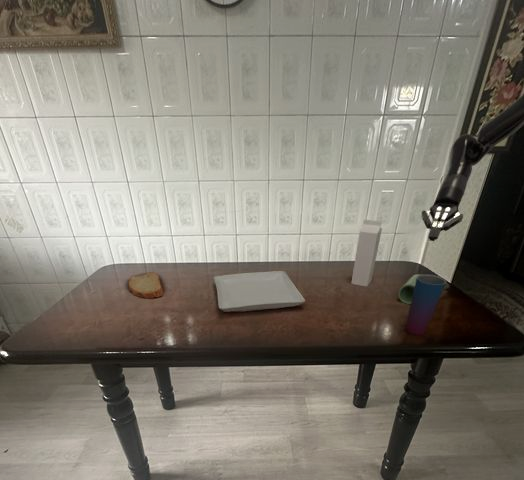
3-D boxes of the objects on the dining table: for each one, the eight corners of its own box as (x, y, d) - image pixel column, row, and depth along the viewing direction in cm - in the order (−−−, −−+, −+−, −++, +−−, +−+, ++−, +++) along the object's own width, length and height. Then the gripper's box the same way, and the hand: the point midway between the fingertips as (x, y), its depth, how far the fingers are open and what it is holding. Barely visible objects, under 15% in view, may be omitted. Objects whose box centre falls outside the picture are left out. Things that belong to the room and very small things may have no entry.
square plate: (220, 319, 91) (219, 307, 89) (214, 284, 113) (213, 274, 111) (305, 310, 95) (306, 299, 93) (283, 278, 117) (284, 269, 115)
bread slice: (157, 300, 103) (155, 289, 100) (112, 294, 107) (109, 285, 104) (182, 280, 117) (180, 271, 115) (142, 276, 121) (139, 267, 119)
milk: (355, 278, 117) (366, 218, 104) (371, 281, 114) (384, 219, 101) (350, 284, 112) (361, 221, 100) (367, 287, 110) (379, 223, 97)
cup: (397, 330, 85) (412, 279, 76) (408, 321, 88) (423, 272, 80) (422, 339, 81) (440, 286, 72) (432, 329, 85) (450, 279, 76)
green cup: (431, 276, 100) (423, 287, 93) (425, 294, 104) (417, 306, 97) (411, 272, 103) (401, 282, 96) (406, 290, 107) (396, 301, 100)
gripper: (430, 184, 100) (411, 230, 99) (475, 186, 94) (456, 235, 92) (428, 199, 106) (410, 242, 105) (471, 202, 100) (452, 248, 99)
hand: (432, 239), depth 99 cm, fingers closed
